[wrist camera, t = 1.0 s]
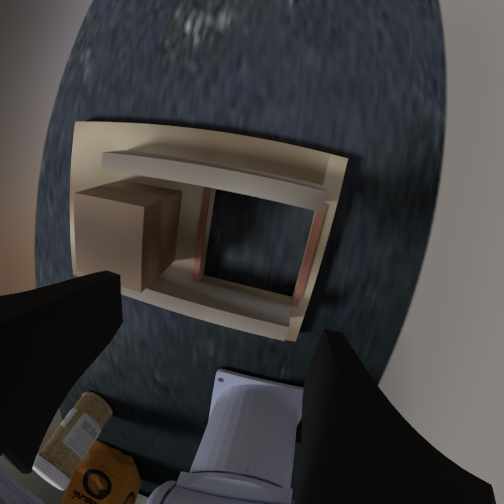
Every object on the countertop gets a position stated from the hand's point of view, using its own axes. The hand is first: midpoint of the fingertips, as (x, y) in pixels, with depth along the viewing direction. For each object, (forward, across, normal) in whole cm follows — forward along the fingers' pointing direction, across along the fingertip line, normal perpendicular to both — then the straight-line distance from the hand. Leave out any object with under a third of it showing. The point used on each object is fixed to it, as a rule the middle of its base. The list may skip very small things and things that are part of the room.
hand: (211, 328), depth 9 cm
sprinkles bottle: (+10, +15, +25) cm, 31 cm away
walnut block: (+8, +7, 0) cm, 11 cm away
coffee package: (+10, +15, +43) cm, 47 cm away
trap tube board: (+9, +5, 0) cm, 11 cm away
